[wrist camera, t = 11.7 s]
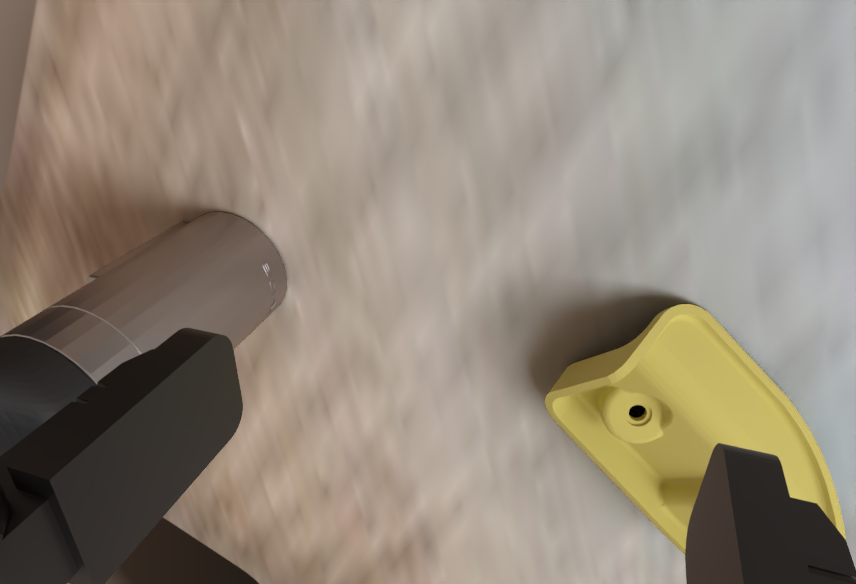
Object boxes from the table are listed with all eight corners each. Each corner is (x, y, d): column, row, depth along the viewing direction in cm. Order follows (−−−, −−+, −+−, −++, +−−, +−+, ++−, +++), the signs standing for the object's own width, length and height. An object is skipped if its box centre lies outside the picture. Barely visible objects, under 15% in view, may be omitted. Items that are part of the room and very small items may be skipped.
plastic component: (531, 397, 41) (631, 370, 33) (583, 327, 45) (684, 286, 36) (721, 594, 42) (866, 619, 34) (756, 511, 46) (895, 513, 37)
